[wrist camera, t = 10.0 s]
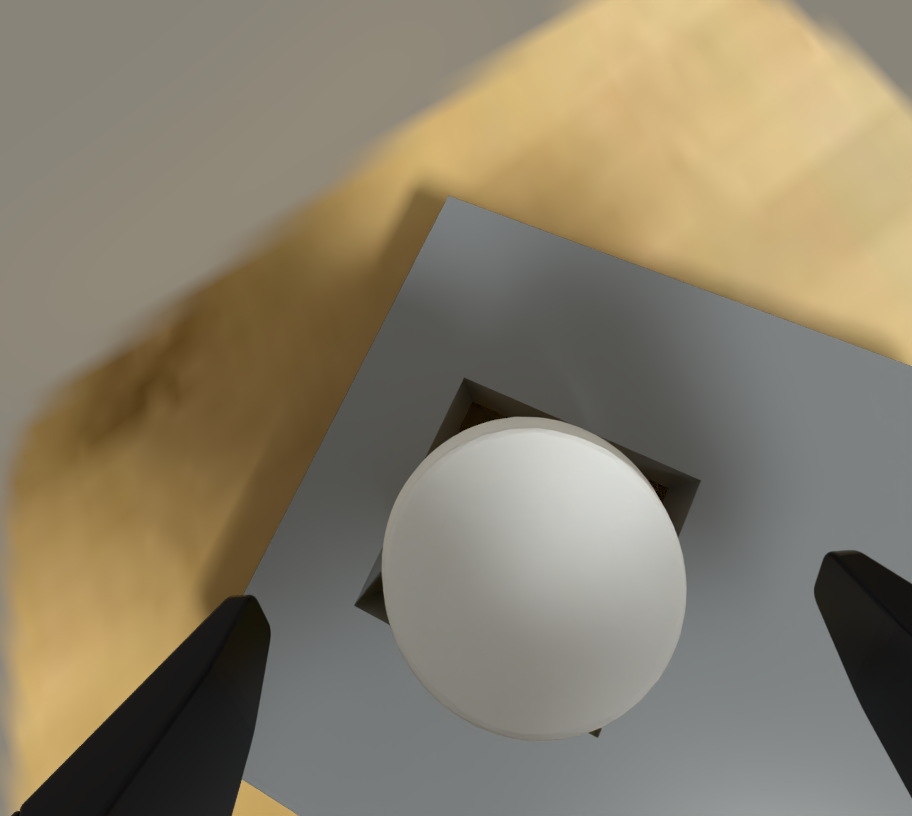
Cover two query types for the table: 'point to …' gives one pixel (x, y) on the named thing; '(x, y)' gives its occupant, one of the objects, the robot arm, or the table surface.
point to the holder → (686, 501)
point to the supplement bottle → (533, 579)
